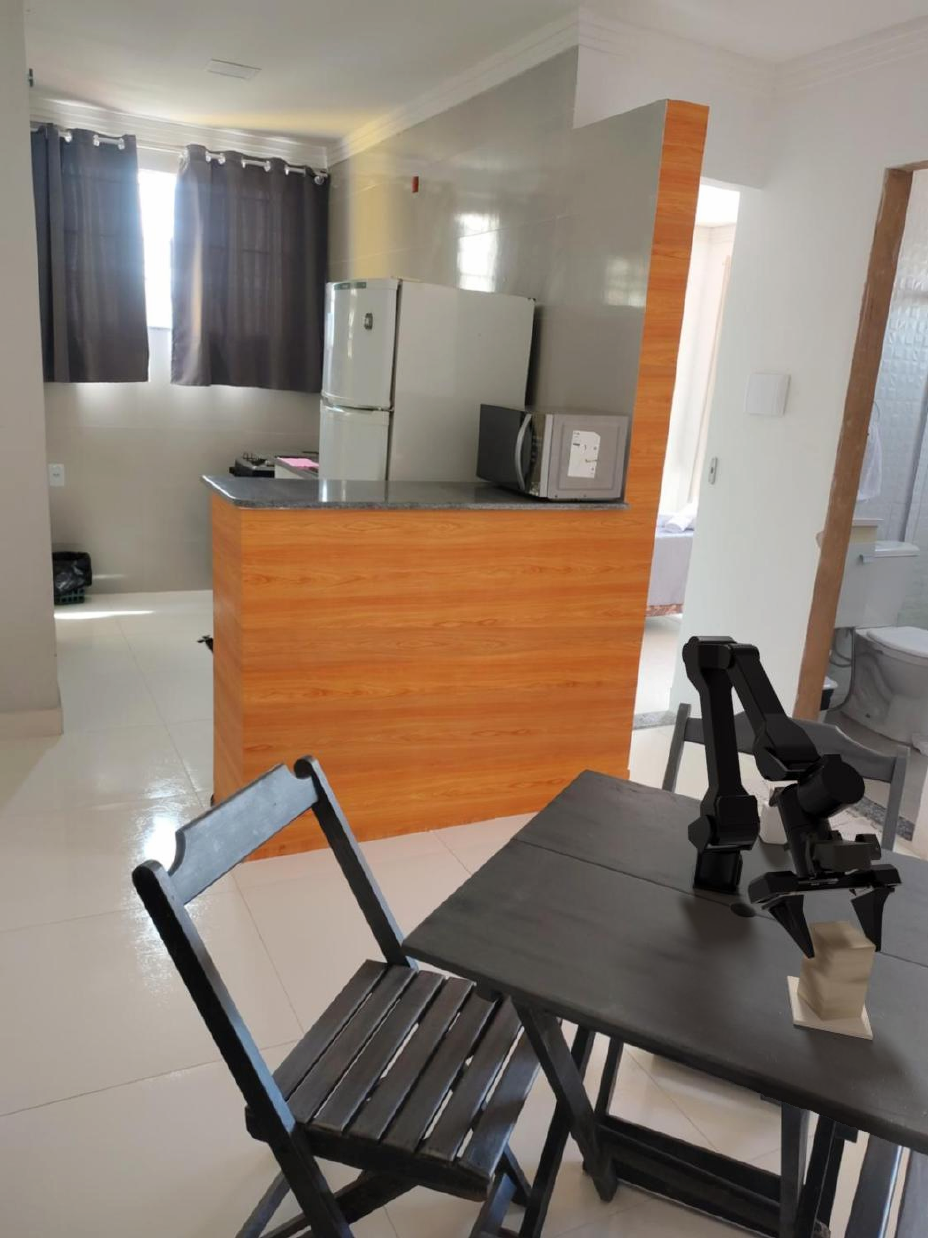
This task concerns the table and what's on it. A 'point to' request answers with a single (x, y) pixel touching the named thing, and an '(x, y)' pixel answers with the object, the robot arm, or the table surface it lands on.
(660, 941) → the table surface
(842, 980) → the brass block
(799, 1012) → the cream tile
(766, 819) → the pepper shaker
